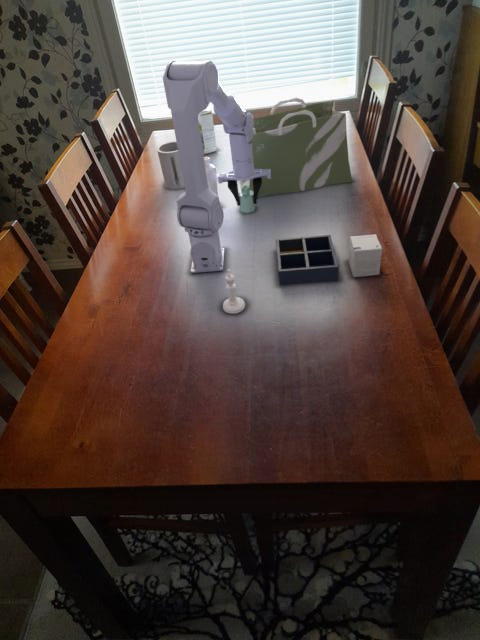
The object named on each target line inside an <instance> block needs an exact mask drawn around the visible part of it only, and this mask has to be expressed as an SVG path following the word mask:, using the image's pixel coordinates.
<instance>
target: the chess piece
mask: <svg viewBox="0 0 480 640" xmlns="http://www.w3.org/2000/svg"><path fill="white" fill-rule="evenodd" d="M226 271H227V274H226V275H225V277H224V279H225V281H226V283H227V284H226V285H225V289H227V290H228V292H229V293H228V298H226V299H225V300H224V301H223V303H222V310H223V311H224V312H225V313H227V314H233V315H234V314H238V313H241V312H243V310H244V309H245V308H246V303H245V301H244V299H243V298H241V297H239V296H237V295H236V292H235V289H236V288H237V285H236V283H234V282H235V276H234V275H233V274H231V269H230V268H227V270H226Z"/></svg>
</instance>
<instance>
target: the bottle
mask: <svg viewBox="0 0 480 640" xmlns="http://www.w3.org/2000/svg"><path fill="white" fill-rule="evenodd" d="M238 193H239V201H240V206H239V210H240V212H241V213H244V214H249V213H250V214H251V213H253V212H254V211H255V210H256V206H255V205H256V204H254V193H253V191H251V190H250V187H249V186H248V185H244V184H243V185H242V186H241V191H239V192H238Z"/></svg>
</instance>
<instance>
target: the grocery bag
mask: <svg viewBox="0 0 480 640" xmlns="http://www.w3.org/2000/svg"><path fill="white" fill-rule="evenodd" d="M293 102H296V103H300V104H301V107H297V108H293V109H289V110H286V111H282V112H277V113H275V111H276V109H277V108H279V107H280V106H282V105H285V104H288V103H293ZM347 131H348V130H347V113H345V112H341V111H337V110H336V100H335V99H334V100H329V101H324V102H323V101H322V102H319V103H313V104H309V105H307V103H306V102H305V101H304V100H303V99H302V98H299V97H293V98H290V99H287V100H281V101H279V102H277V103H276V104H274V105H273V106H272V108H271V110H270V112H269V115H264V116H260V117H259V116H258V117H256V118H255V117H254V126H253V139H252V151H253V162H254V169H270V172H271V179H267V178H262V184H261V187H260V189H259V192H258V196H257V198H258V197H265V196H272V195H279V194H288V193H289V194H290V193H297V192H304V191H308V190H312V189H313V190H314V189H316V188H320V187H325V186H330V185H337V184H344V183H345V184H346V183H352V182H353V177H352V173H351V166H350V165H351V164H350V160H349V159H350V158H349V146H348V145H349V144H348V132H347ZM242 184H243V186H244V185H248V186H249V187H250V190H251V191H253V193H254V190H253V179H250V180H245V181H242Z"/></svg>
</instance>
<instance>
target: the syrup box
mask: <svg viewBox="0 0 480 640" xmlns="http://www.w3.org/2000/svg"><path fill="white" fill-rule="evenodd" d="M198 121H199V128H200V135H201V142H202V148H203V155H207V154H210V153H213V152H217V151H218V147H217V140H216V131H215V125H214V124H215V123H214V117H213V110H212V109H210V108H209V107H207V108H206V109H205V110H203V111H201V112H200V113H199V115H198Z"/></svg>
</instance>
